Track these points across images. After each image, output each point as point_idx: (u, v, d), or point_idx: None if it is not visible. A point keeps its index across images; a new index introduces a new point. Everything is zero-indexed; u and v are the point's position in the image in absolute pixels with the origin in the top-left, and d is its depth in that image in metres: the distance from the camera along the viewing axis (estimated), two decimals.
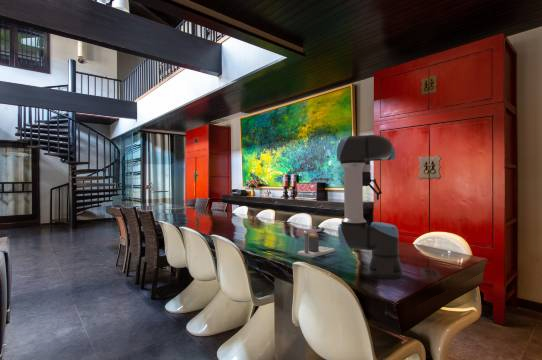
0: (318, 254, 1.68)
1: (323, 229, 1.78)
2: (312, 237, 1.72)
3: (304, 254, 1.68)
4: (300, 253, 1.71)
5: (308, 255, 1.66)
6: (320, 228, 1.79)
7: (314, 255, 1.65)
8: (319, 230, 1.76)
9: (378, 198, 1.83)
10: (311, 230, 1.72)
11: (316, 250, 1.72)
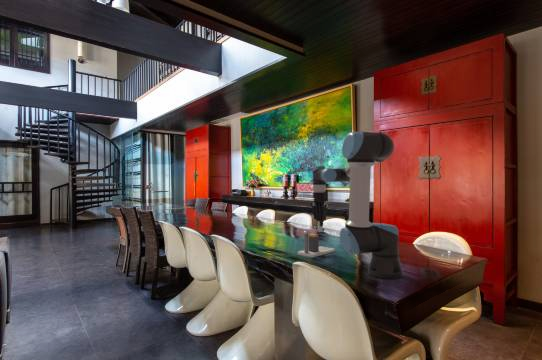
0: (318, 254, 1.68)
1: (323, 229, 1.78)
2: (312, 237, 1.72)
3: (304, 254, 1.68)
4: (300, 253, 1.71)
5: (308, 255, 1.66)
6: None
7: (314, 255, 1.65)
8: None
9: (321, 224, 1.74)
10: (311, 230, 1.72)
11: (316, 250, 1.72)
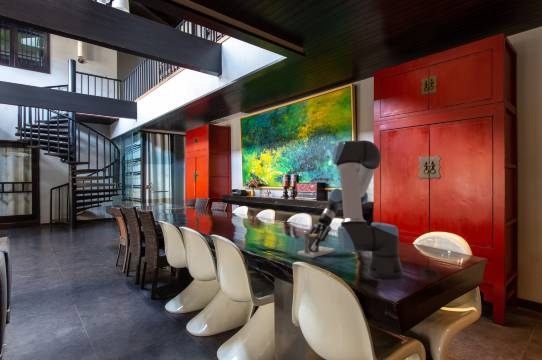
0: (318, 254, 1.68)
1: None
2: (312, 237, 1.72)
3: (304, 254, 1.68)
4: (300, 253, 1.71)
5: (308, 255, 1.66)
6: (294, 228, 1.82)
7: (314, 255, 1.65)
8: None
9: (317, 243, 1.70)
10: (302, 230, 1.73)
11: (316, 250, 1.72)
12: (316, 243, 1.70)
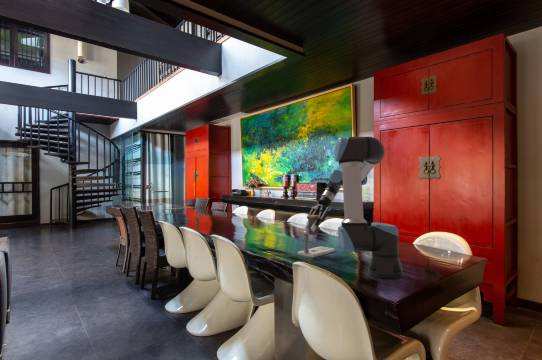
0: (318, 254, 1.68)
1: None
2: (312, 218, 1.72)
3: (304, 254, 1.68)
4: (300, 253, 1.71)
5: (308, 255, 1.66)
6: (294, 228, 1.82)
7: (314, 255, 1.65)
8: None
9: (316, 223, 1.70)
10: (302, 230, 1.73)
11: (316, 231, 1.72)
12: (316, 223, 1.70)
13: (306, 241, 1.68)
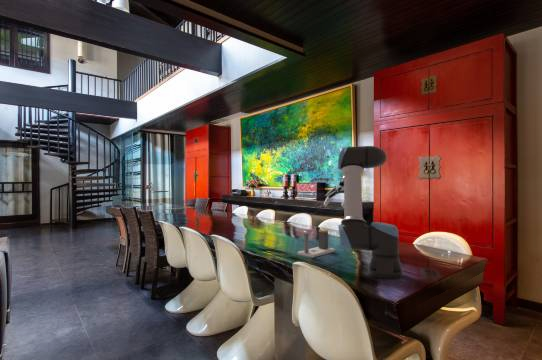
0: (318, 254, 1.68)
1: None
2: (322, 232, 1.78)
3: (304, 254, 1.68)
4: (300, 253, 1.71)
5: (308, 255, 1.66)
6: (294, 228, 1.82)
7: (314, 255, 1.65)
8: None
9: None
10: (302, 230, 1.73)
11: (326, 245, 1.78)
12: None
13: (306, 241, 1.68)
